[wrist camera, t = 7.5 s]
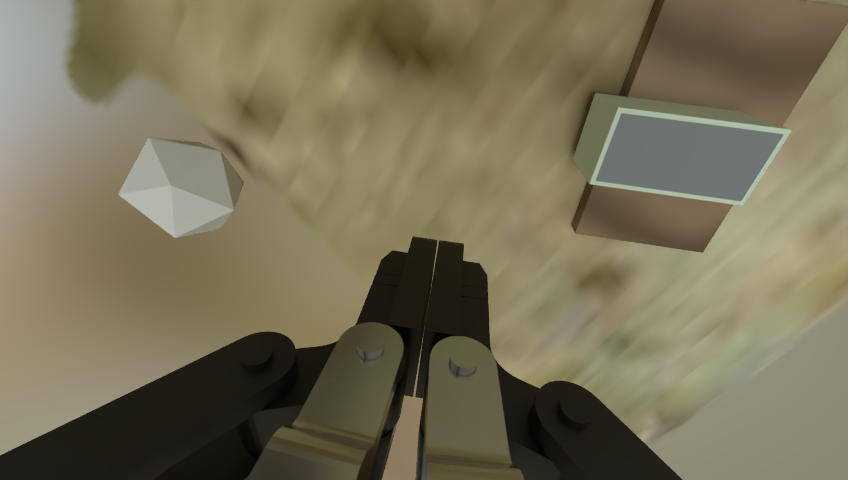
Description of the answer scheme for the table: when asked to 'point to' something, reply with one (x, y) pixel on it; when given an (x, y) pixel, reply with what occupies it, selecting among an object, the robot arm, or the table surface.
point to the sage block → (676, 148)
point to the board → (711, 96)
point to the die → (182, 186)
